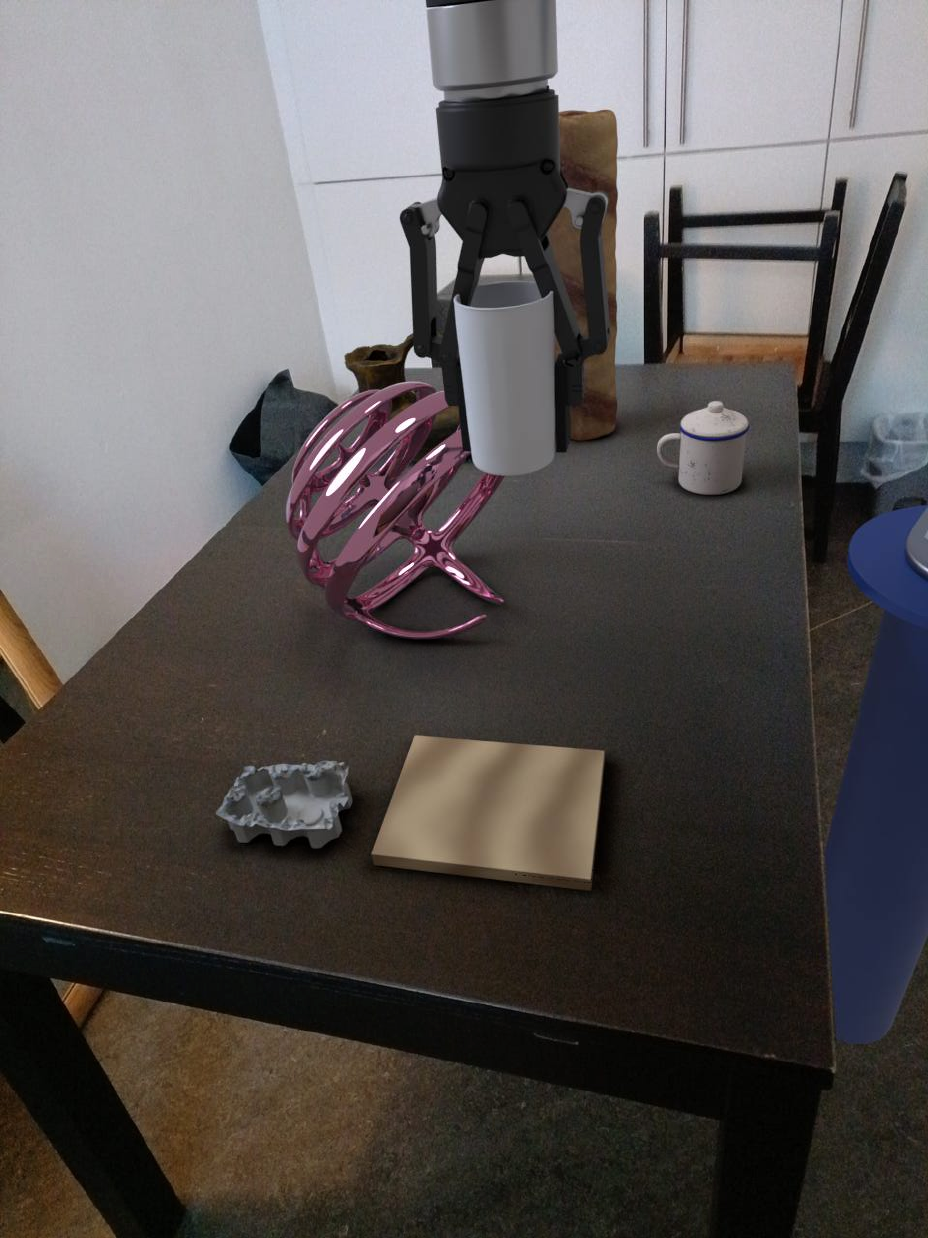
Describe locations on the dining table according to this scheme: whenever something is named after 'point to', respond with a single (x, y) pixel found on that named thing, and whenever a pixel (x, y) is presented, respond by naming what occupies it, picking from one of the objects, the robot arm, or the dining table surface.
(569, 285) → the wafer roll
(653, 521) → the dining table surface
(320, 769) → the egg carton
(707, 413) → the teacup with lid
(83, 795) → the dining table surface
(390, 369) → the pottery vessel
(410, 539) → the spiral basket
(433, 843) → the board
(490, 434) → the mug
